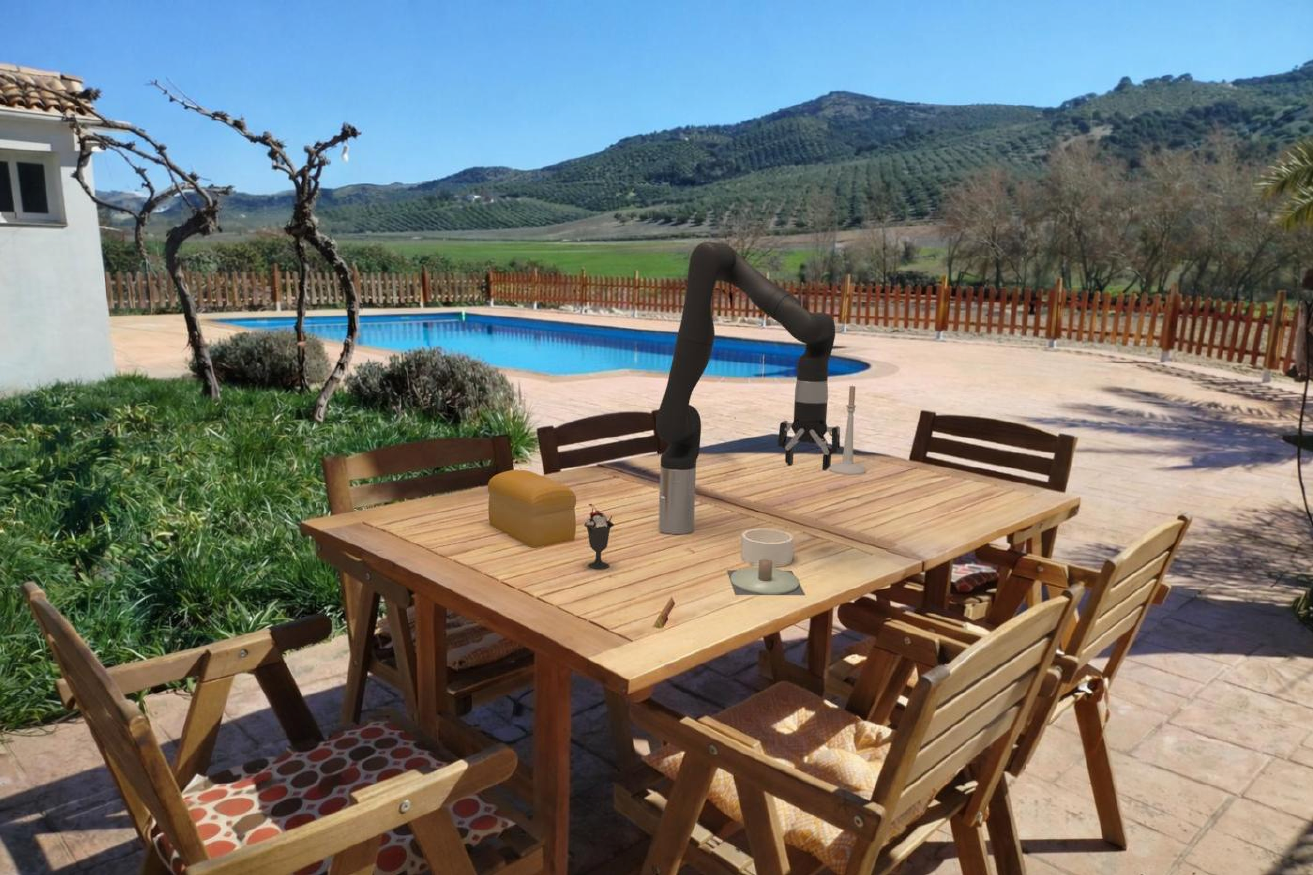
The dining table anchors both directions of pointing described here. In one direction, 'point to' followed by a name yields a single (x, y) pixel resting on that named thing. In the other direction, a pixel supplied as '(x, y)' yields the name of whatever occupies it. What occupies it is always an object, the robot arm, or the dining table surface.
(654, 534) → the dining table surface
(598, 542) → the sundae
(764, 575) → the lid
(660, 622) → the chocolate bar
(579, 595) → the dining table surface
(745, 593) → the mat
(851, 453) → the candlestick
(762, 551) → the bowl
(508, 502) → the bread
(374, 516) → the dining table surface
